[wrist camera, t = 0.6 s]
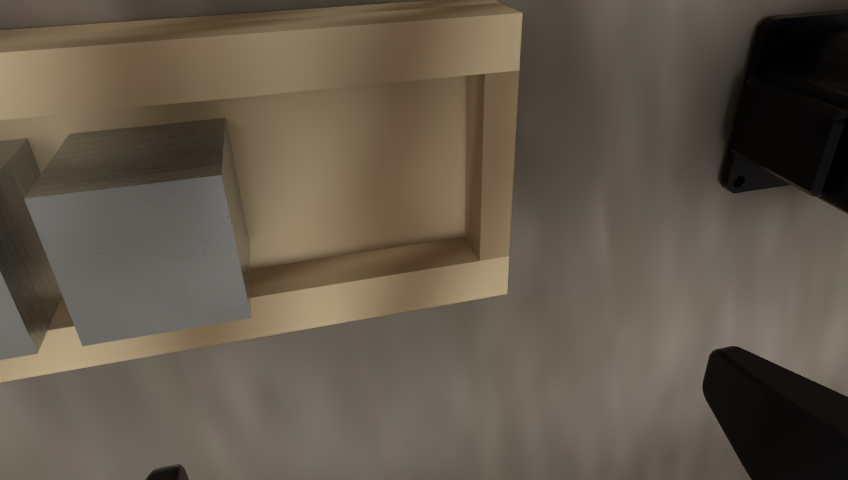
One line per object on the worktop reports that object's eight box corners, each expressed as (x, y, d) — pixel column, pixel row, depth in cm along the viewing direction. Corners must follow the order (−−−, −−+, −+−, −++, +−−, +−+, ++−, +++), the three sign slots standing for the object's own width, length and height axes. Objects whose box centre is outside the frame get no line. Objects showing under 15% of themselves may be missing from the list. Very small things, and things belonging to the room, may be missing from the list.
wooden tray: (486, -4, 18) (522, 12, 16) (480, 252, 23) (507, 293, 21) (-224, 45, 15) (-312, 76, 12) (-64, 338, 19) (-106, 400, 17)
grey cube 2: (225, 117, 17) (221, 174, 14) (249, 241, 19) (251, 318, 16) (69, 133, 16) (24, 199, 13) (111, 261, 18) (82, 346, 15)
